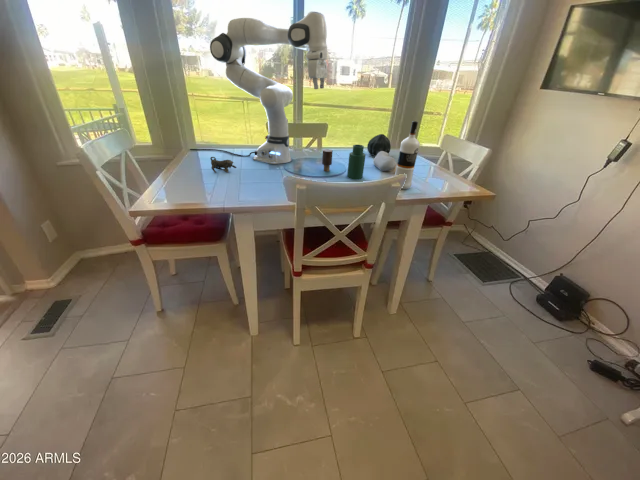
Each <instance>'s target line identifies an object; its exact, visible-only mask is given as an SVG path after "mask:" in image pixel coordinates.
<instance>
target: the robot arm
mask: <svg viewBox="0 0 640 480" xmlns="http://www.w3.org/2000/svg"><path fill="white" fill-rule="evenodd" d="M327 28H328V27H327V20H326V16H325V15H324V14H323V13H321V12H318V11H313V10H312V11H309V12H307V14H306V15H305V16H304V17H303V18H301V19H300V20H298V21H296V22H294V23H292V24H290V26H289V27H288V28H281V27H277V26H274V25H272V24H270V23H267V22H265V21H263V20H260V19H257V18H252V17H238V18H233V19H231V20H230V21H229V22H228V24H227V32H226V33H225V32H222V33H220V34H219V35H218V36H216V37H214V38H212V40H211V41H210V44H209V50H210V54H211V56H212V57H213V59H214V60H216V61H217V62H219V63H221V64H224V63H225V66H226V67H225V77H226V79H227V80H228V81H229V82H230V83H231V84H233V86H235V87H237V88H238V89H240V90H242V91H243V92H245V93H247V94H249V95H250V96H252V97H253V98H257V99H259V101H260V104H261V106H262V107H263V109H264V111H265V115H266V118H267V127H268V129H267V130H268V134H267V135H266V136H265V137H264V139H265V140H266V141H264V143H263V144H261V145H259V147H258V148H257V149H256V150H254V151H251V152H249V154H248V155H242V154H237V153H233V152H231V151H228V150H224V149H216V148H189V151H217V152H223V153H228V154H230V155H233V156H238V157H244V158H245V157H247V158H248V157H250V156H251V155H252V154H254V156H253V161H257V162H261V163H266V164H270V165H279V164H286V163H290V162H291V161H292V156H291V152H290V135H289V120H288V118H287V115H286V112H285V111H286V110H285V108H286V107H288V106H289V105H291V103H292V102H293V100H294V95H293V91H292V89H291V88H290V87H289V86H287V85H285V84H282V83H280V82H278V81H275V80H273V79H271V78H269V77H266V76H264V75H263V74H260V73H259V72H257V71H255V70H253V69H251V68H249V67H248V66H246V65H245V64H246V57H247V49H246V47H264V46H269V45H270V46H271V45H289V46H291V47H293V48H295V49H298V50H303V51H306V52H307V53H306V54H305V58H306V60H307V61H306V62H307V73H308V74H307V75H308V78H309V79H312V84H313V89H314V90H319V89H324V88H325V81H326V80H325V79H327V78H328V76H329V75H328V63H327V60H328V45H327V38H328V30H327ZM318 81H319V82H318Z"/></svg>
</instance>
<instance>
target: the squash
mask: <svg viewBox="0 0 640 480" xmlns="http://www.w3.org/2000/svg"><path fill="white" fill-rule="evenodd" d="M366 146H367V148H366V149H367V153H368V154H370V155H371V156H375V157H376V155H377V154H378V153H379V152H380V151H384V152H387V153H388V154H390V152H391V149H392V147H391V146H392V145H391V141H390V139H389V137H387V136H386V135H385V134H383V133H379V134H377V135H375V136H373V137H372V138H370V139H369V141H368V142H367V145H366Z"/></svg>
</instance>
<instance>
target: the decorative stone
mask: <svg viewBox="0 0 640 480" xmlns="http://www.w3.org/2000/svg"><path fill="white" fill-rule="evenodd" d="M389 154H390V153H387V152H384V151H380V152H379V153H378V154H377V155H376V156H375V157H374V158H373V161H372V163H373V165H374V167H376V168H377V169H378V170H380V171H382V172H389V171H393V170H394V169H396V160H395V158H394V157H392V156H390V155H389Z"/></svg>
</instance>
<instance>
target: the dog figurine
mask: <svg viewBox="0 0 640 480" xmlns="http://www.w3.org/2000/svg"><path fill="white" fill-rule="evenodd" d="M209 159H210V164H211V167H210V168H211V171H213V172H214V174H216V173H217V171H216V170H219V171H223V172H224V173H229V169H231V168H234V169H237V166H236V165H234V161H233V160H231V159H224V160H219V159H218V160H217V158H216V157H215V156H210V158H209Z"/></svg>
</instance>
